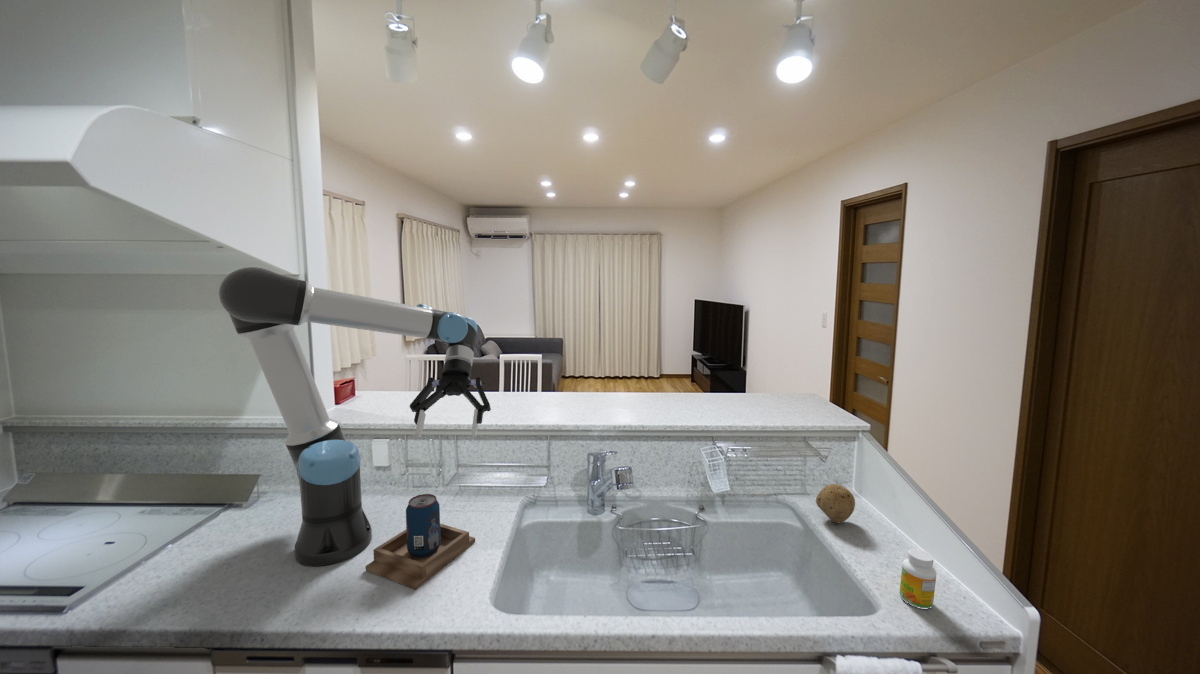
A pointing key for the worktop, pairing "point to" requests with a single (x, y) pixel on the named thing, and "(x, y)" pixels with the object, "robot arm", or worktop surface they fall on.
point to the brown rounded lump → (836, 502)
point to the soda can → (423, 526)
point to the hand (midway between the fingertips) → (445, 435)
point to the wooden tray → (414, 571)
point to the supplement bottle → (918, 579)
